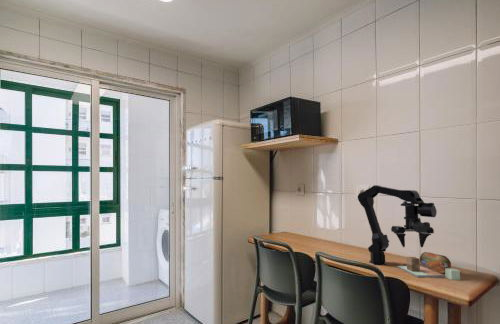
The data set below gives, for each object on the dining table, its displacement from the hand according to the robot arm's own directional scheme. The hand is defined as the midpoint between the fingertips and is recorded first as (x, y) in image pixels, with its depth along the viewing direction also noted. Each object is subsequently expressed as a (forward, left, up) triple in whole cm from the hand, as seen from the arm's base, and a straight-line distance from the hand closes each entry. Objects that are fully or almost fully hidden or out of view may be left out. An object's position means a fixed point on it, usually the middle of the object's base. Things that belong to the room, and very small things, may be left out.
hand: (412, 247), depth 143 cm
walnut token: (0, 0, -11) cm, 11 cm away
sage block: (+13, -9, -12) cm, 20 cm away
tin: (+13, +3, -12) cm, 18 cm away
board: (+3, 0, -12) cm, 12 cm away
